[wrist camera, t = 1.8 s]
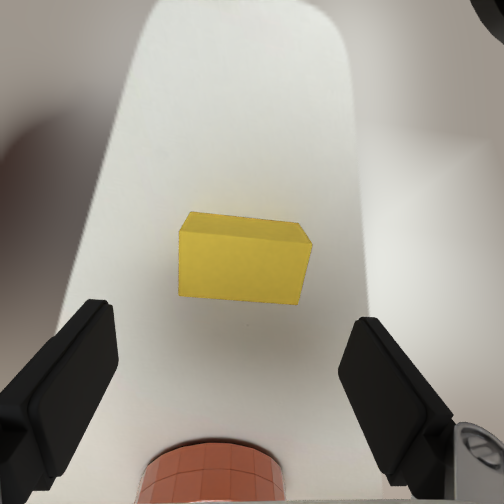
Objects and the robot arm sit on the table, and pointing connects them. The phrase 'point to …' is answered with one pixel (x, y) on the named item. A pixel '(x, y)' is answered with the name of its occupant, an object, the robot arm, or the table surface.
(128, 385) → the table surface
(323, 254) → the table surface
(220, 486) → the bowl
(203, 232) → the sponge
